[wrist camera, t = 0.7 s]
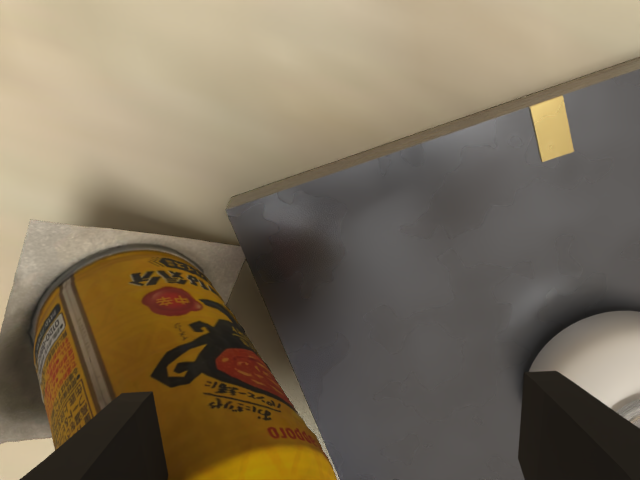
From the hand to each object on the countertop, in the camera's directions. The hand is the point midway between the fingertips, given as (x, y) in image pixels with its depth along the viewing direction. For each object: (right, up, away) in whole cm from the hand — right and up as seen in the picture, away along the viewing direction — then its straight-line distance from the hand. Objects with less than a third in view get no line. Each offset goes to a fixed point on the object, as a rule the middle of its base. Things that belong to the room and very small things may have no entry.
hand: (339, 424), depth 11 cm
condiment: (-7, 0, +9) cm, 12 cm away
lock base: (+10, -1, +11) cm, 15 cm away
